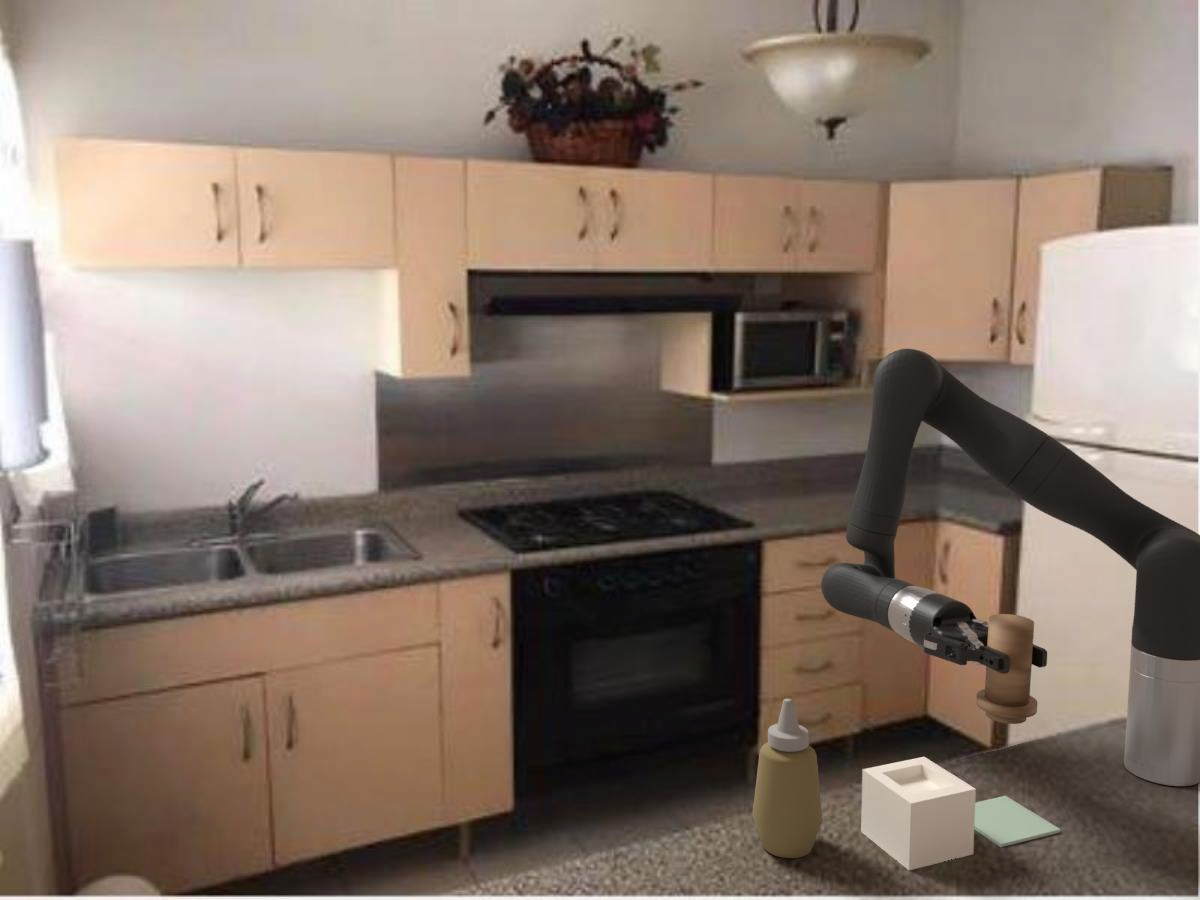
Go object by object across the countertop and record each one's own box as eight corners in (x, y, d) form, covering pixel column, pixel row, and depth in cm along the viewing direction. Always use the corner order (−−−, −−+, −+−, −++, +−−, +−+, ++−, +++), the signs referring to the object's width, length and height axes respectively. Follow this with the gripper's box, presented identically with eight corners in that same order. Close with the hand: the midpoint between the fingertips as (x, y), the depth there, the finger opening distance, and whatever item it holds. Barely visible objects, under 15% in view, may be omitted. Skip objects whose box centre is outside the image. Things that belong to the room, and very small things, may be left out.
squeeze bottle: (749, 860, 113) (750, 711, 111) (755, 825, 121) (756, 685, 118) (821, 869, 111) (823, 717, 109) (822, 832, 119) (825, 690, 116)
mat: (1005, 798, 126) (1005, 795, 126) (1060, 832, 118) (1060, 829, 118) (948, 811, 123) (948, 808, 123) (1000, 847, 115) (1000, 844, 115)
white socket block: (922, 817, 122) (924, 756, 121) (973, 854, 114) (975, 788, 113) (861, 831, 119) (862, 769, 118) (908, 870, 110) (910, 803, 109)
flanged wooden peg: (1007, 701, 123) (1012, 609, 122) (1049, 722, 117) (1055, 625, 115) (963, 709, 121) (968, 615, 119) (1003, 731, 115) (1009, 632, 113)
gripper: (886, 598, 128) (979, 639, 112) (975, 587, 133) (1075, 624, 117) (884, 653, 129) (975, 701, 113) (972, 640, 134) (1071, 684, 118)
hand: (1025, 662), depth 115 cm, fingers closed on flanged wooden peg, 5 cm apart
